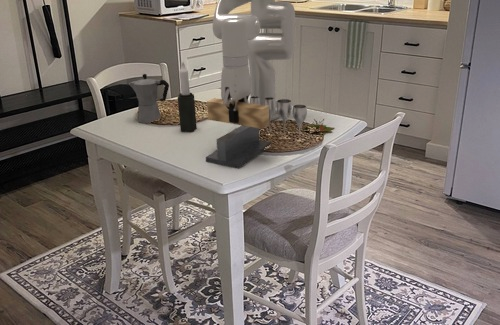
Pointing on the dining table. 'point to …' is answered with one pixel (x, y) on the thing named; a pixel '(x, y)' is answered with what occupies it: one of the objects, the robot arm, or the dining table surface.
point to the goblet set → (283, 110)
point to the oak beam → (239, 113)
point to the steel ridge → (238, 147)
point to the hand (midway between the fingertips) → (238, 119)
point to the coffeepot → (148, 98)
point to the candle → (186, 103)
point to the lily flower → (321, 127)
